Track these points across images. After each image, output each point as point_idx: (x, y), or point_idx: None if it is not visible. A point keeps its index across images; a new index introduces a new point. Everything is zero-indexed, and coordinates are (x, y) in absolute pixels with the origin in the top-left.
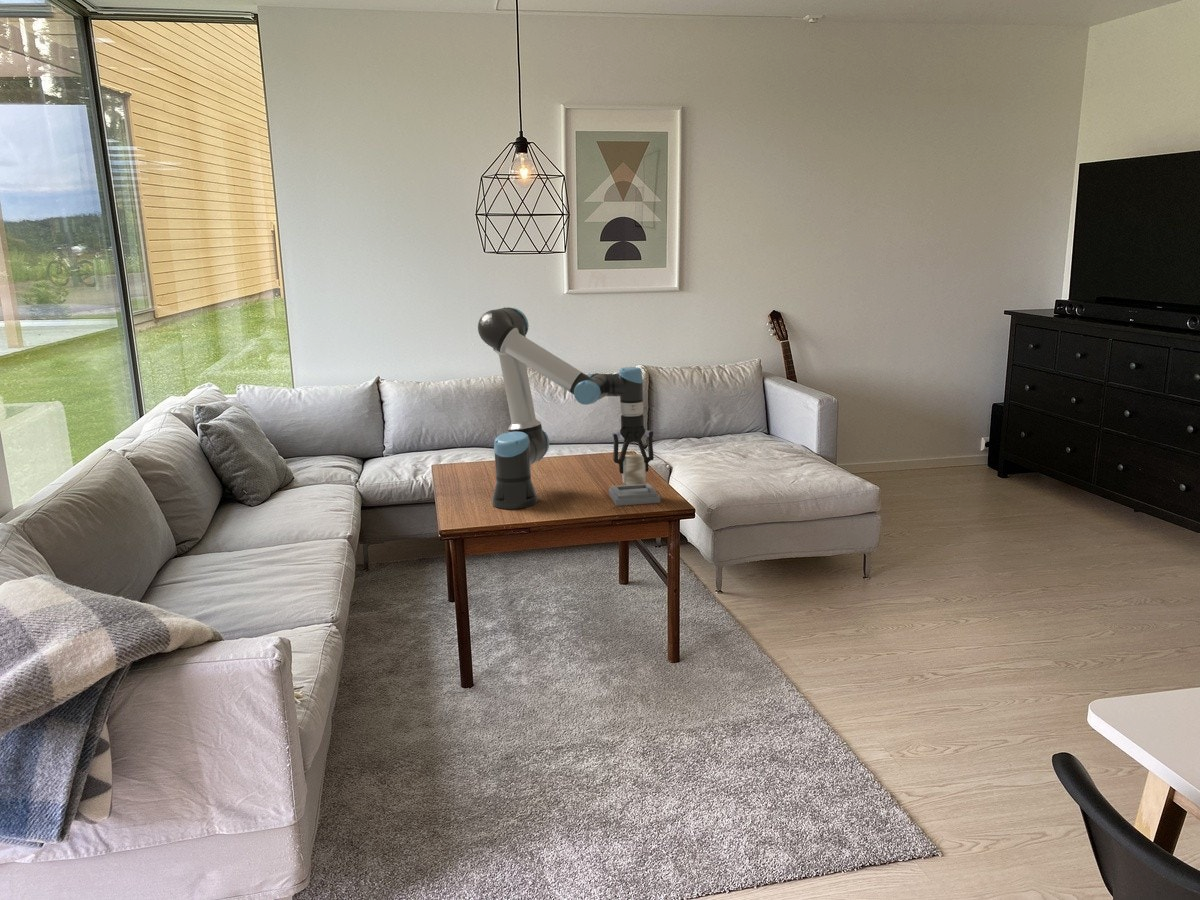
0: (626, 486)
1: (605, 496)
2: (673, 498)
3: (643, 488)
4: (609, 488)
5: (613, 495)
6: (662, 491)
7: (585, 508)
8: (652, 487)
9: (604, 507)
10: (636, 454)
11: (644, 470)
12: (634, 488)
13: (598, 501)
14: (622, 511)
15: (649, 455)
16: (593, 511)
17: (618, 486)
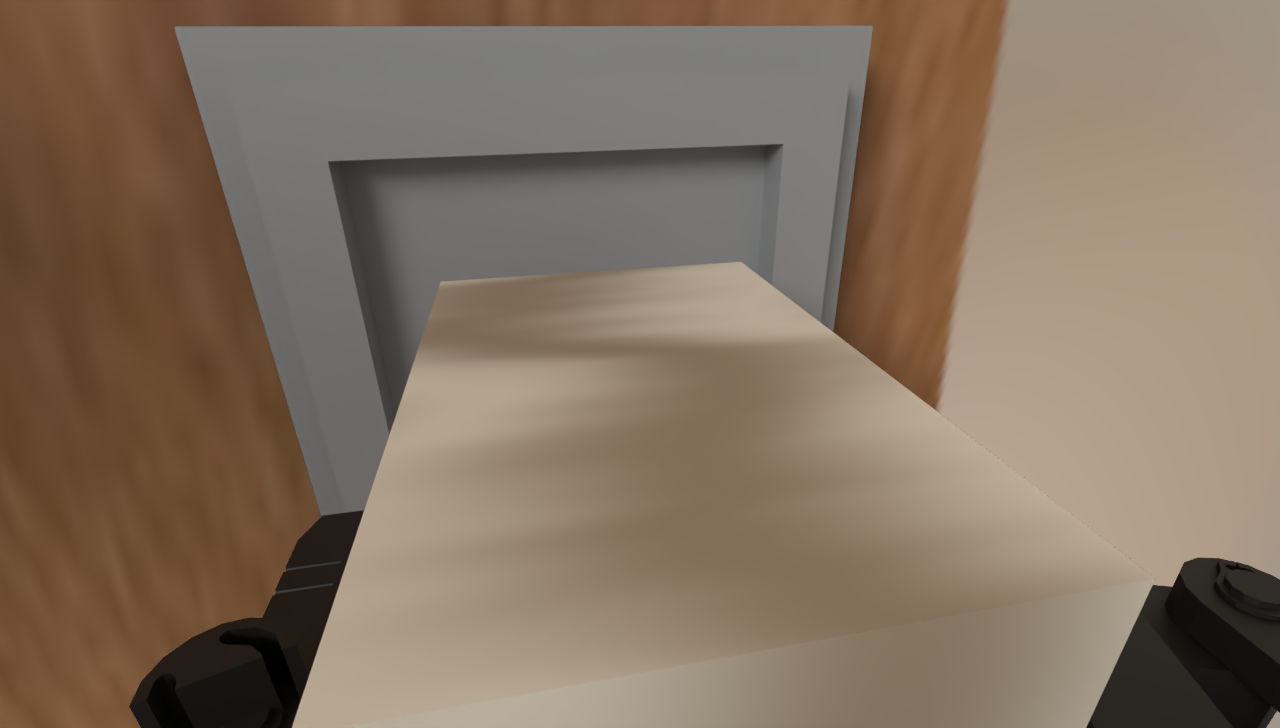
0: (493, 153)
1: (179, 137)
2: (932, 361)
3: (728, 182)
4: (193, 47)
5: (304, 438)
6: (942, 70)
7: (5, 587)
8: (848, 157)
9: (236, 565)
10: (969, 653)
11: None
12: (611, 152)
13: (115, 358)
14: None
15: (1273, 691)
16: (132, 666)
17: (355, 149)
